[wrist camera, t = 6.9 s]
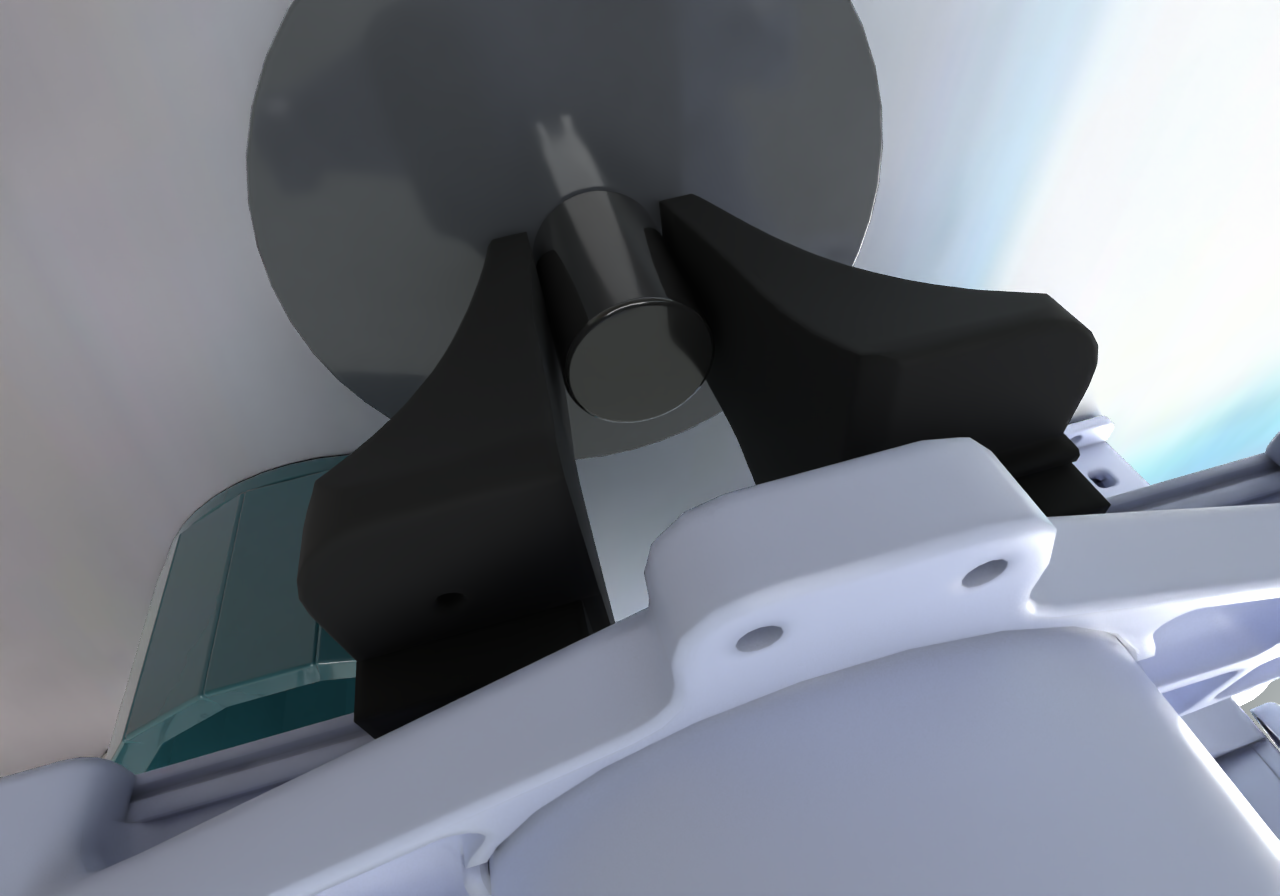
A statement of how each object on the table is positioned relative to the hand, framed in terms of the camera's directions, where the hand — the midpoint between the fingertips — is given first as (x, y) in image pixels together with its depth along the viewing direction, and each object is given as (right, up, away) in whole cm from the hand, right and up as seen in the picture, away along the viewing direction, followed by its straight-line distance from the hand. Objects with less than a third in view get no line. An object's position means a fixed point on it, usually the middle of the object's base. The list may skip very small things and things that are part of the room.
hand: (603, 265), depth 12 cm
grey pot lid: (0, +1, +1) cm, 1 cm away
